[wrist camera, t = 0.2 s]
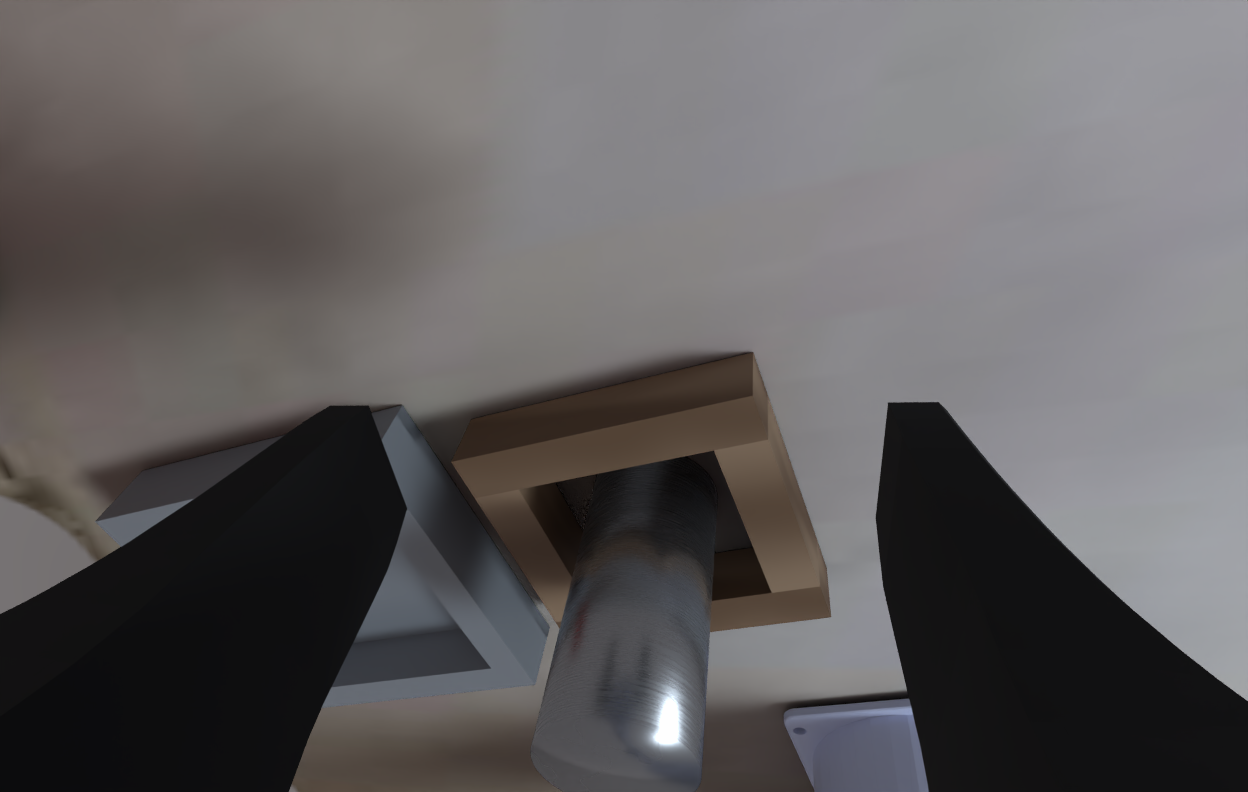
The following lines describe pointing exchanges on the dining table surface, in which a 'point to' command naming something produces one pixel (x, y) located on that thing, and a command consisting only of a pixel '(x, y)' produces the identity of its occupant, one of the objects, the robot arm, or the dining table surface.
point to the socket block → (641, 434)
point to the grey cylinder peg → (634, 637)
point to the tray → (395, 578)
